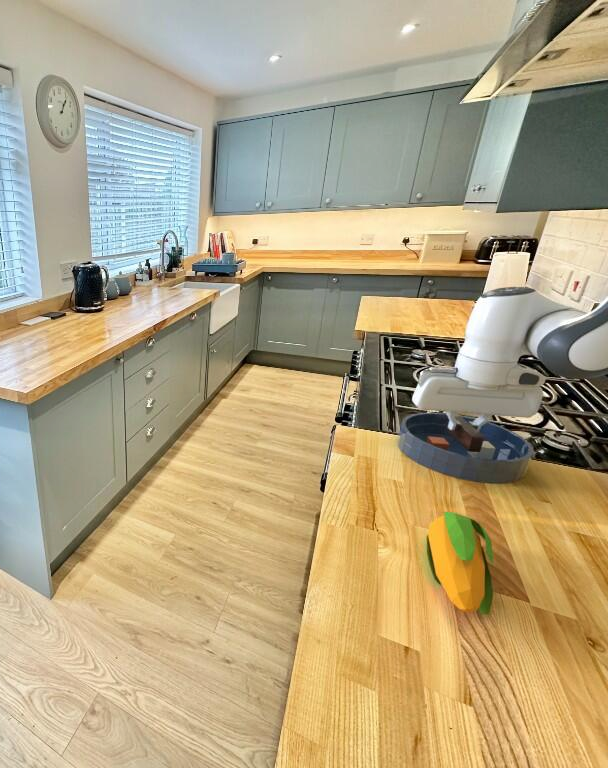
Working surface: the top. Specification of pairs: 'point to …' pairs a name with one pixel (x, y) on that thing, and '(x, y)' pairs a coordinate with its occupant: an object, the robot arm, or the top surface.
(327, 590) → the top surface
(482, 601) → the corn
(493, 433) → the bowl
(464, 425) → the brown bar
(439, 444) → the terracotta block
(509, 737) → the top surface
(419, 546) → the top surface
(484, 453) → the cream block
